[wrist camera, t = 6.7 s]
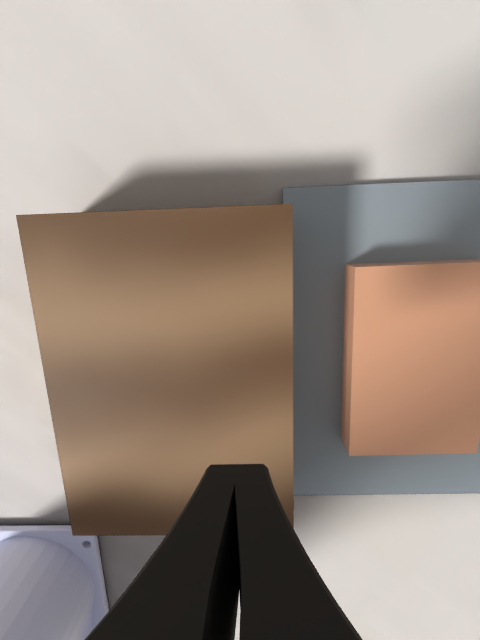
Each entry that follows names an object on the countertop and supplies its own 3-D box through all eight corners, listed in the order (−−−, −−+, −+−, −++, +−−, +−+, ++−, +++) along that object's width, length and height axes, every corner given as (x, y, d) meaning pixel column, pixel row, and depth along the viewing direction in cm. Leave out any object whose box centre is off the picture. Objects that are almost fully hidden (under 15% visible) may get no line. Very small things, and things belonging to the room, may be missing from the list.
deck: (285, 474, 19) (293, 534, 16) (107, 476, 20) (72, 535, 16) (282, 211, 16) (292, 203, 12) (71, 220, 17) (16, 215, 13)
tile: (349, 455, 17) (340, 437, 18) (477, 453, 17) (457, 434, 18) (355, 267, 15) (345, 264, 16) (501, 261, 14) (477, 258, 16)
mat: (504, 488, 19) (509, 493, 19) (285, 490, 20) (285, 495, 19) (553, 177, 16) (561, 175, 15) (282, 189, 16) (283, 187, 16)
